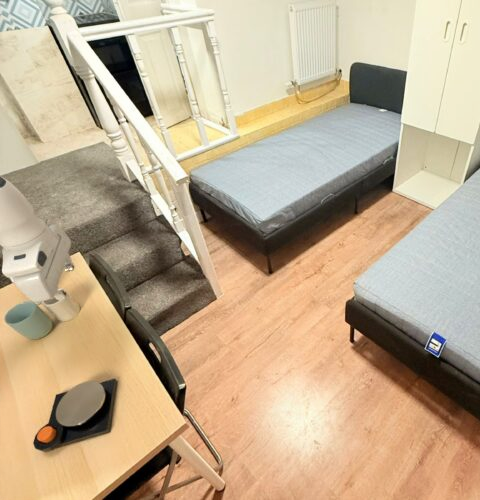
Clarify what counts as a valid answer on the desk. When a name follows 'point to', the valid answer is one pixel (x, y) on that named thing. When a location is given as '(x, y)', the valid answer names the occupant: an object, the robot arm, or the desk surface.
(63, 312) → the white cup
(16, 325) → the cup
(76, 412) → the scale pan
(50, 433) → the tare button
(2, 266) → the robot arm
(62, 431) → the scale
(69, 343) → the desk surface
